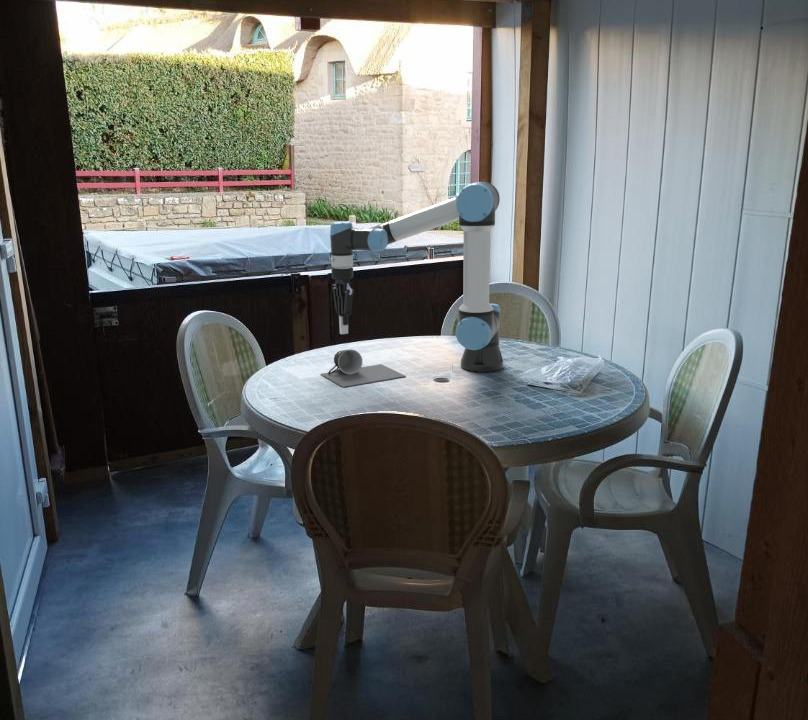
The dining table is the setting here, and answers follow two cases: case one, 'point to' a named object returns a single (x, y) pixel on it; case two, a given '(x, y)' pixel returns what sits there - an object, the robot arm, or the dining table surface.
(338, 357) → the coffee mug
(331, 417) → the dining table surface
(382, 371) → the mat
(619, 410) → the dining table surface
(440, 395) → the dining table surface
